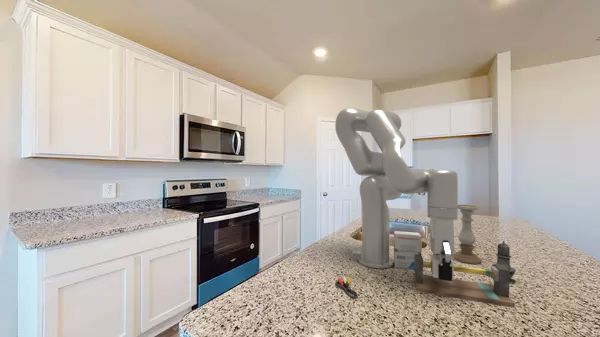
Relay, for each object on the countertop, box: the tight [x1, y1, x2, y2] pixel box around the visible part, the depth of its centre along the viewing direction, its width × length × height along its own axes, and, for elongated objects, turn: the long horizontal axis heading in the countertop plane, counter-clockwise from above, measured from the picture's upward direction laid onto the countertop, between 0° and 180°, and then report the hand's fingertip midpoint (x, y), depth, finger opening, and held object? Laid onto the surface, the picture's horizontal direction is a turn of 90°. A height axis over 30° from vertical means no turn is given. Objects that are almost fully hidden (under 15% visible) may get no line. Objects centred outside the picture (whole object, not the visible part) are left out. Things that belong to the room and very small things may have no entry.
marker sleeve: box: [430, 253, 455, 280], centre depth 70 cm, size 5×4×5 cm
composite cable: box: [334, 275, 359, 300], centre depth 69 cm, size 10×5×2 cm, turn 5°
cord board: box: [412, 254, 516, 308], centre depth 69 cm, size 22×10×8 cm, turn 69°
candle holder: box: [452, 204, 482, 265], centre depth 92 cm, size 9×9×20 cm
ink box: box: [393, 230, 422, 270], centre depth 85 cm, size 9×5×12 cm, turn 72°
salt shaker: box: [490, 240, 517, 284], centre depth 76 cm, size 6×6×12 cm
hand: (442, 273), depth 70 cm, fingers open, 8 cm apart
